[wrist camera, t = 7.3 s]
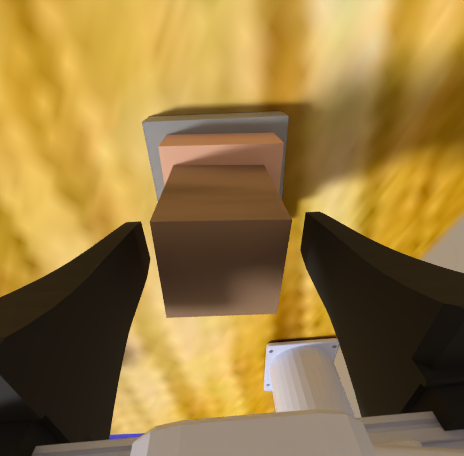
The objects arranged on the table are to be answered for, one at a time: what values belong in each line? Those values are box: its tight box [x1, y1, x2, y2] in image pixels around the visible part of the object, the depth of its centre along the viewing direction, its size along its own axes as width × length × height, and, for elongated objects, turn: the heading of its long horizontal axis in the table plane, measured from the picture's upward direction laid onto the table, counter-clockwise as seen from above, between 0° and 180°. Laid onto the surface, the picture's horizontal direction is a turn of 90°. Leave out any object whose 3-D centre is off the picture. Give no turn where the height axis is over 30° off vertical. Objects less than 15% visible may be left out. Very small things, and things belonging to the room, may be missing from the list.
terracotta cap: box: [158, 132, 284, 193], centre depth 15 cm, size 6×6×2 cm
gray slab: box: [142, 111, 289, 201], centre depth 17 cm, size 8×8×2 cm
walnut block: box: [150, 165, 292, 318], centre depth 12 cm, size 4×4×6 cm
